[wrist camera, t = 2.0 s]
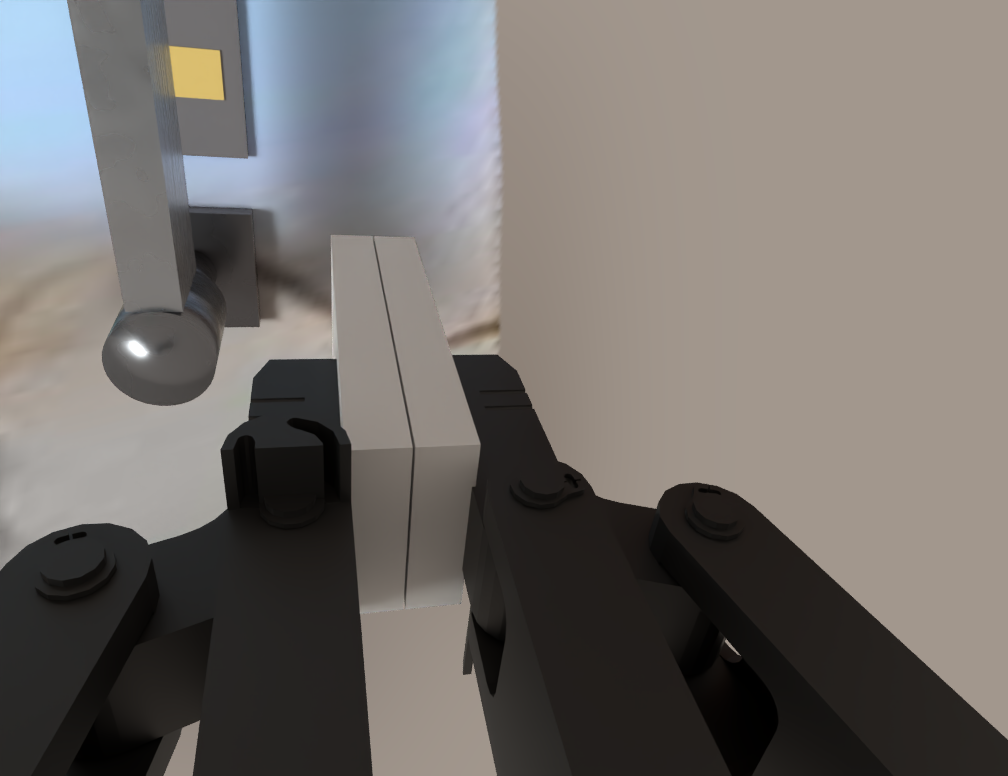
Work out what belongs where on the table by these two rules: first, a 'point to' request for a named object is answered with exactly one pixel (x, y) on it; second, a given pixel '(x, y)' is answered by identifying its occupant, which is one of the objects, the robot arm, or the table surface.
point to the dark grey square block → (228, 259)
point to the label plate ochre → (207, 76)
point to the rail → (146, 205)
